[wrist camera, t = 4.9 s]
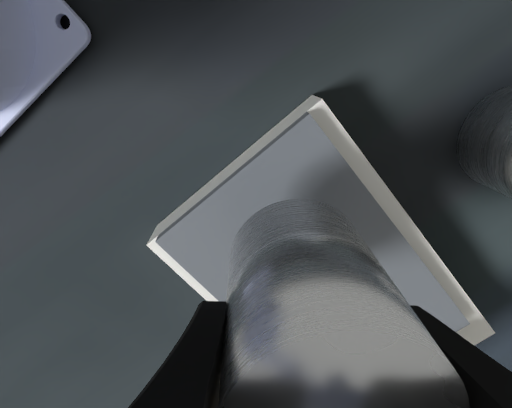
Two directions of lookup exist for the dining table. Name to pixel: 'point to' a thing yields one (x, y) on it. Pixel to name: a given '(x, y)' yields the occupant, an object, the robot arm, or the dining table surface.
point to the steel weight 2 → (489, 142)
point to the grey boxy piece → (320, 189)
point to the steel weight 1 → (323, 321)
